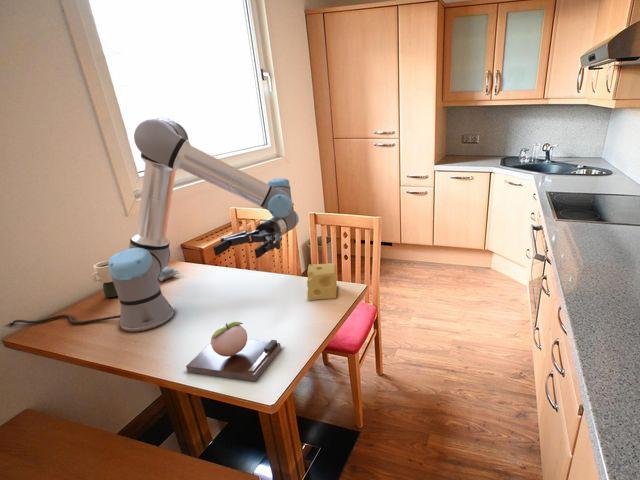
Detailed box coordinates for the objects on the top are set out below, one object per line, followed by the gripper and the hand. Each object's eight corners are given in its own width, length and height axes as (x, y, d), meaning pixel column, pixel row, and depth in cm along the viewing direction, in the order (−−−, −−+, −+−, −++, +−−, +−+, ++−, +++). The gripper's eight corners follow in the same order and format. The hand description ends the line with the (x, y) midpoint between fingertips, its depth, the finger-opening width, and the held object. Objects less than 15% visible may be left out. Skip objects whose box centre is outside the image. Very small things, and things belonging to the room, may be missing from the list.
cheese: (308, 300, 135) (305, 275, 131) (310, 287, 145) (308, 263, 141) (337, 298, 135) (335, 273, 132) (338, 285, 145) (336, 261, 142)
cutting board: (187, 372, 100) (184, 362, 99) (219, 341, 113) (217, 332, 112) (255, 381, 96) (253, 371, 95) (281, 348, 109) (279, 339, 107)
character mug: (122, 287, 150) (112, 257, 145) (135, 290, 147) (125, 259, 142) (94, 300, 140) (83, 268, 135) (107, 303, 138) (96, 270, 133)
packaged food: (167, 270, 164) (164, 260, 162) (181, 277, 157) (178, 266, 155) (146, 278, 157) (142, 267, 155) (160, 285, 151) (157, 274, 149)
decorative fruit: (232, 369, 98) (225, 336, 94) (209, 361, 101) (201, 329, 97) (257, 349, 105) (252, 318, 102) (235, 342, 109) (229, 312, 105)
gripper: (305, 242, 129) (275, 266, 110) (240, 238, 135) (201, 261, 116) (303, 220, 126) (272, 242, 107) (236, 218, 132) (196, 238, 113)
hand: (235, 252), depth 111 cm, fingers open, 13 cm apart
